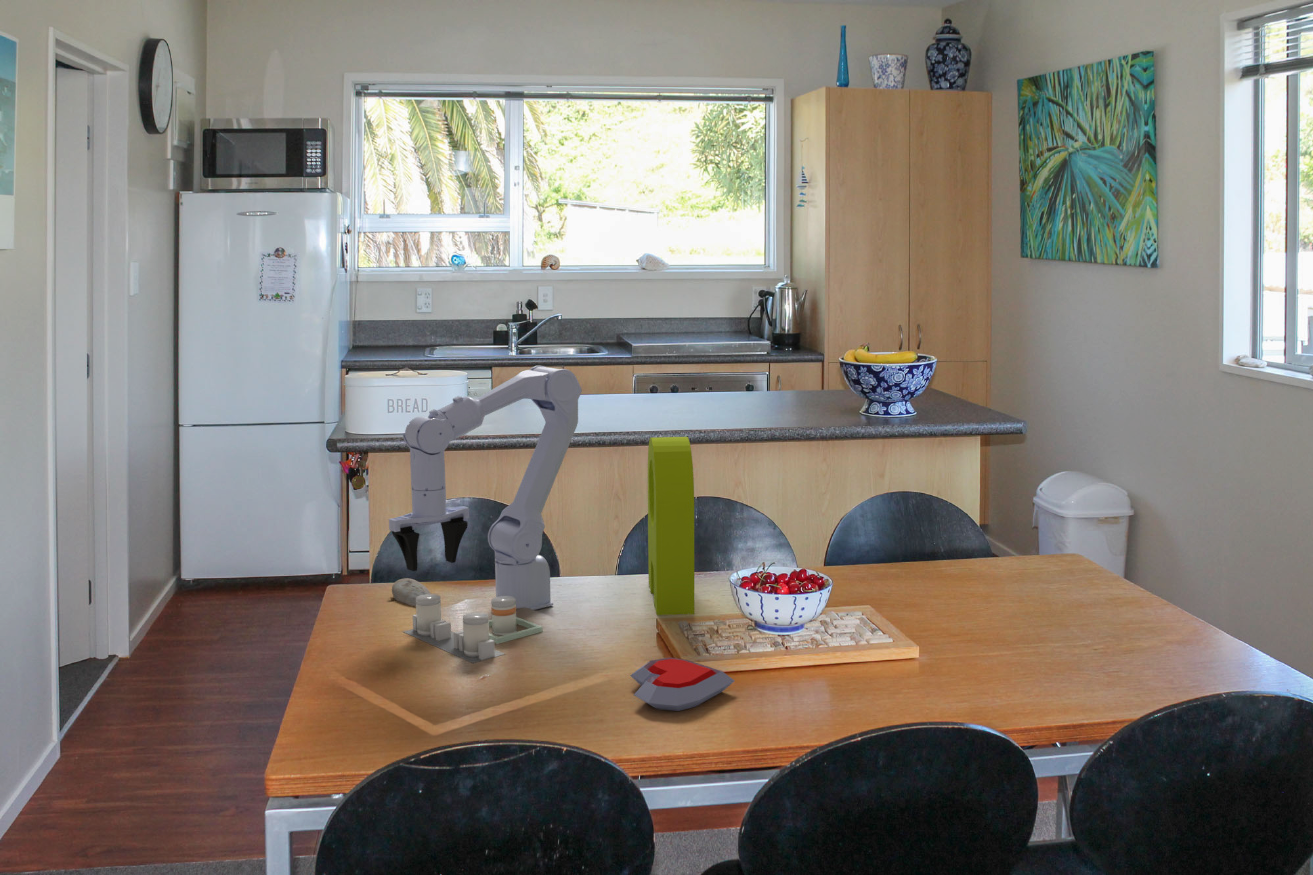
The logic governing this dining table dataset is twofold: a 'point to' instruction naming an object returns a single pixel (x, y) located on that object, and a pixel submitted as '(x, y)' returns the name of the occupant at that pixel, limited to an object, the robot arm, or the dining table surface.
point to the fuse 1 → (427, 612)
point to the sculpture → (678, 683)
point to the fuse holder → (453, 641)
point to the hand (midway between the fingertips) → (431, 565)
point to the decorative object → (671, 525)
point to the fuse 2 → (474, 632)
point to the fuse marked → (503, 615)
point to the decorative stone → (408, 591)
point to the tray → (532, 630)
